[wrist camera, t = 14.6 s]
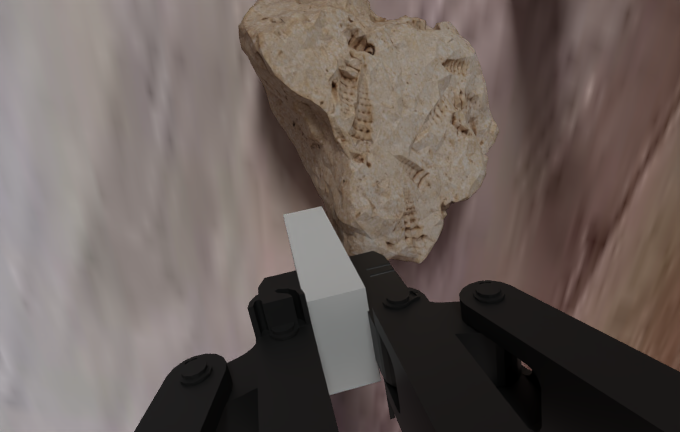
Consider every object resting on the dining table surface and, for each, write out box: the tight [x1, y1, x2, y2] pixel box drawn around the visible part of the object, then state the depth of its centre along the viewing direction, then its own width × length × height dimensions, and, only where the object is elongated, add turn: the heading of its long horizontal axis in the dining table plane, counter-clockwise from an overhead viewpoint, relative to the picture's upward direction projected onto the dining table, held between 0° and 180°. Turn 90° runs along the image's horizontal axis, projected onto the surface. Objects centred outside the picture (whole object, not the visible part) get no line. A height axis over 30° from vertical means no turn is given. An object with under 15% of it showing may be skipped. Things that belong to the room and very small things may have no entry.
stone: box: [238, 0, 499, 264], centre depth 17 cm, size 9×11×5 cm
